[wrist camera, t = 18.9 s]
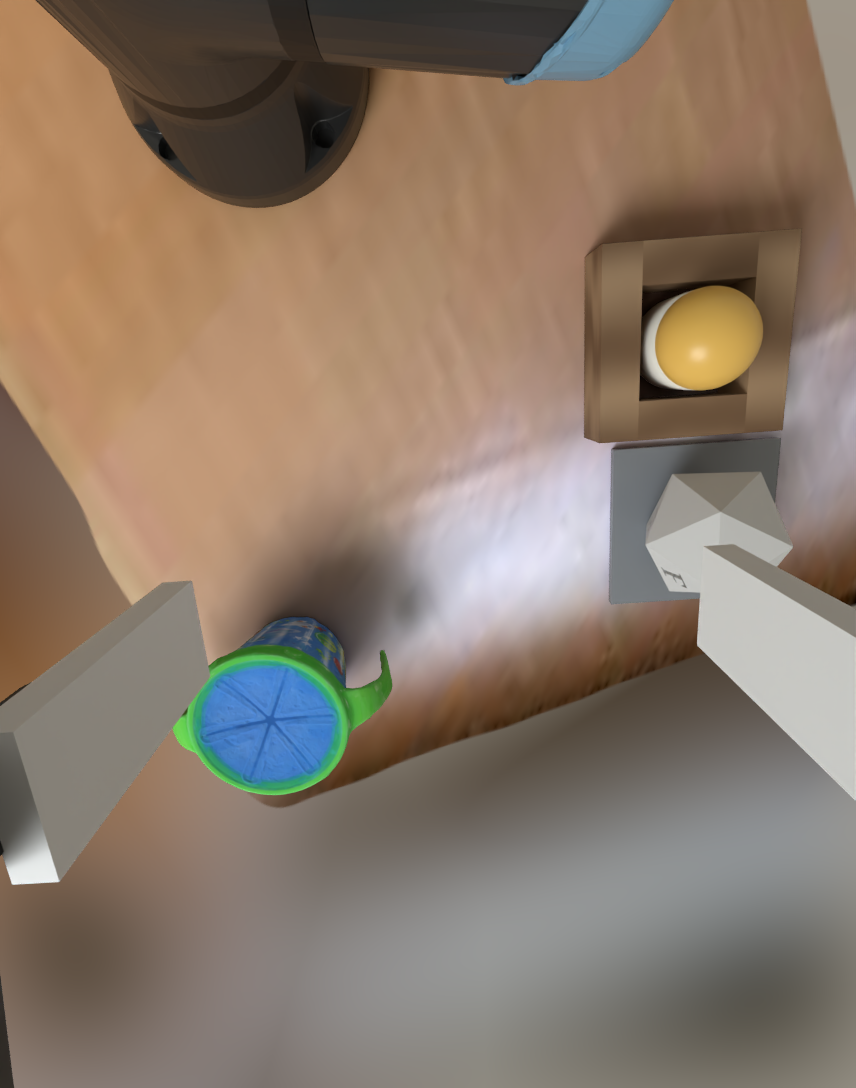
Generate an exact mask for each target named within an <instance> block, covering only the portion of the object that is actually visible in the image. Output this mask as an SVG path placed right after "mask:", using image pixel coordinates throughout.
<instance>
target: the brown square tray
mask: <svg viewBox="0 0 856 1088" xmlns="http://www.w3.org/2000/svg"><path fill="white" fill-rule="evenodd" d="M801 233H802V228H801V229H788V230H775V231H763V232H750V233H737V234H724V235H711V236H698V237H685V238H672V239H660V240H647V241H634V242H621V243H608V244H602V245H600V246H599V247H598V248H596V249H595V250H594V251H593V252H591V253H590V254H589V255H588V256H586V257H585V360H584V438H587V439H590V440H593V441H595V442H598V443H610V442H624V441H638V440H652V439H666V438H680V437H694V436H708V435H722V434H736V433H750V432H764V431H778V430H783V419H784V409H785V399H786V388H787V378H788V367H789V357H790V347H791V336H792V326H793V316H794V305H795V295H796V285H797V274H798V264H799V254H800V243H801ZM707 286H725V287H730V288H734V289H736V290H738V291H740V292H742V293H744V294H745V295H747V296H748V297H749V298H750V299H751V300H752V301H753V302H754V304H755V305H756V307H757V309H758V310H759V312H760V315H761V318H762V322H763V338H762V343H761V347H760V349H759V352H758V354H757V356H756V357H755V359H754V361H753V362H752V364H751V365H750V366H749V367H748V369H747V370H746V371H745V372H744V373H743V374H741V375H740V376H739V377H738V378H736V379H735V380H733V381H732V382H730V383H728V384H726V385H723V386H721V387H718V391H717V393H706V394H692V395H679V396H665V397H651V398H639V383H640V349H641V314H642V293H651V292H664V291H677V290H690V289H698V288H702V287H707Z"/></svg>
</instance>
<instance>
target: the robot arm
mask: <svg viewBox="0 0 856 1088" xmlns="http://www.w3.org/2000/svg"><path fill="white" fill-rule="evenodd" d="M36 1H37V2H38V3H39V4H40V5H41V6H42V7H43V8H44V9H45V10H46V11H47V12H49V13H50V14H51V15H52V16H53V17H54V18H55V19H56V20H57V21H58V22H59V23H60V24H61V25H62V26H63V27H64V28H66V29H67V30H68V31H69V32H70V33H71V34H72V35H73V36H74V37H75V38H76V39H77V40H78V41H79V42H80V43H81V44H82V45H84V46H85V47H86V48H87V49H88V50H89V51H90V52H91V53H92V54H93V55H94V56H95V57H96V58H97V59H98V60H99V61H101V62H102V63H103V64H104V65H105V66H106V67H107V68H108V70H109V73H110V75H111V78H112V80H113V83H114V85H115V88H116V90H117V93H118V96H119V98H120V100H121V103H122V105H123V107H124V109H125V111H126V113H127V115H128V117H129V119H130V121H131V122H132V124H133V126H134V127H135V129H136V130H137V132H138V134H139V135H140V136H141V138H142V139H143V140H144V142H145V143H146V144H147V146H148V147H149V148H150V149H151V151H152V152H153V153H154V154H155V155H156V156H157V157H158V158H159V159H160V160H161V161H162V162H163V163H164V164H165V165H166V166H167V167H168V168H169V169H171V170H172V171H173V172H174V173H175V174H177V175H178V176H179V177H180V178H181V179H183V180H184V181H185V182H187V183H188V184H189V185H191V186H192V187H194V188H195V189H196V190H198V191H200V192H202V193H203V194H205V195H207V196H209V197H211V198H213V199H216V200H219V201H221V202H224V203H228V204H231V205H236V206H241V207H251V208H264V207H273V206H278V205H282V204H286V203H289V202H292V201H294V200H297V199H299V198H301V197H303V196H305V195H307V194H309V193H310V192H312V191H313V190H315V189H316V188H318V187H319V186H320V185H321V184H323V183H324V182H325V181H326V180H327V179H328V178H329V177H330V176H331V175H332V174H333V173H334V172H335V171H336V170H337V168H338V167H339V166H340V165H341V163H342V162H343V161H344V159H345V158H346V156H347V154H348V153H349V151H350V149H351V147H352V146H353V144H354V142H355V139H356V137H357V135H358V132H359V129H360V127H361V124H362V120H363V117H364V113H365V108H366V103H367V96H368V85H369V68H382V69H394V70H407V71H419V72H432V73H444V74H457V75H469V76H482V77H495V78H503V79H504V81H505V83H506V84H510V85H525V84H527V83H529V82H532V81H534V80H569V81H588V80H593V79H597V78H601V77H604V76H606V75H608V74H609V73H610V72H612V71H613V70H614V69H616V68H617V67H618V66H619V65H621V64H622V63H624V62H626V61H627V60H629V59H630V58H631V57H632V56H633V55H634V54H635V53H636V52H637V51H638V50H639V49H640V48H641V47H642V45H643V44H644V43H645V42H646V41H647V40H648V38H649V37H650V36H651V34H652V33H653V31H654V30H655V29H656V27H657V26H658V24H659V23H660V22H661V20H662V19H663V17H664V15H665V14H666V12H667V11H668V9H669V7H670V6H671V4H672V2H673V1H674V0H36ZM697 646H698V647H699V648H701V649H702V650H703V651H704V652H705V653H706V654H707V655H708V656H709V657H710V658H711V659H712V660H713V661H714V662H715V663H716V664H717V665H718V666H719V667H720V668H721V669H722V670H723V671H724V672H725V673H726V674H727V675H728V676H729V677H730V678H731V679H732V680H733V681H734V682H735V683H736V684H737V685H738V686H739V687H740V688H741V689H742V690H743V691H744V692H745V693H746V694H747V695H748V696H749V697H751V698H752V699H753V700H754V701H755V702H756V703H757V704H758V705H759V706H760V707H761V708H762V709H763V710H764V711H765V712H766V713H767V714H768V715H769V716H770V717H771V718H772V719H773V720H774V721H775V722H776V723H777V724H778V725H779V726H780V727H781V728H782V729H783V730H784V731H785V732H786V733H787V734H788V735H789V736H790V737H791V738H792V739H793V740H794V741H795V742H796V743H797V744H798V745H799V746H800V747H801V748H802V749H803V750H804V751H805V752H806V753H808V754H809V755H810V756H811V757H812V758H813V759H814V760H815V761H816V762H817V763H818V764H819V765H820V766H821V767H822V768H823V769H824V770H825V771H826V772H827V773H828V774H829V775H830V776H831V777H832V778H833V779H834V780H835V781H836V782H837V783H838V784H839V785H840V786H841V787H842V788H843V789H844V790H845V791H846V792H847V793H848V794H849V795H850V796H851V797H852V798H853V799H854V800H855V801H856V609H854V608H852V607H851V606H849V605H847V604H845V603H843V602H841V601H839V600H837V599H836V598H834V597H832V596H830V595H828V594H826V593H824V592H822V591H821V590H819V589H817V588H815V587H813V586H811V585H809V584H807V583H806V582H804V581H802V580H800V579H798V578H796V577H794V576H792V575H791V574H789V573H787V572H785V571H783V570H781V569H779V568H777V567H776V566H774V565H772V564H770V563H768V562H766V561H764V560H762V559H761V558H759V557H757V556H755V555H753V554H751V553H749V552H747V551H746V550H744V549H742V548H740V547H738V546H736V545H734V544H728V545H713V546H703V559H702V575H701V591H700V606H699V622H698V638H697ZM209 678H210V672H209V667H208V661H207V656H206V651H205V646H204V641H203V636H202V631H201V625H200V620H199V615H198V610H197V605H196V600H195V595H194V589H193V584H192V581H180V582H166V583H161V584H160V585H159V586H158V587H156V588H155V589H154V590H152V591H151V592H150V593H148V594H147V595H146V596H144V597H143V598H142V599H140V600H139V601H138V602H136V603H135V604H134V605H133V606H131V607H130V608H129V609H127V610H126V611H125V612H123V613H122V614H121V615H119V616H118V617H117V618H116V619H114V620H113V621H112V622H110V623H109V624H108V625H106V626H105V627H104V628H102V629H101V630H100V631H98V632H97V633H96V634H94V635H93V636H92V637H91V638H89V639H88V640H87V641H85V642H84V643H83V644H81V645H80V646H79V647H77V648H76V649H75V650H74V651H72V652H71V653H70V654H68V655H67V656H66V657H64V658H63V659H62V660H60V661H59V662H58V663H56V664H55V665H54V666H52V667H51V668H50V669H48V670H47V671H46V672H45V673H43V674H42V675H41V676H39V677H38V678H37V679H35V680H34V681H33V682H31V683H29V684H27V685H25V686H23V687H21V688H19V689H18V690H17V691H15V692H14V693H13V694H11V695H10V696H9V697H7V698H6V699H5V700H3V701H2V702H1V703H0V856H1V855H3V858H4V861H5V864H6V867H7V870H8V873H9V876H10V879H11V882H12V884H31V883H47V882H60V880H61V879H62V878H63V876H64V875H65V873H66V872H67V871H68V869H69V868H70V867H71V865H72V864H73V863H74V861H75V860H76V859H77V857H78V856H79V854H80V853H81V852H82V850H83V849H84V848H85V846H86V845H87V843H88V842H89V841H90V839H91V838H92V837H93V835H94V834H95V833H96V831H97V830H98V828H99V827H100V826H101V824H102V823H103V822H104V820H105V819H106V818H107V816H108V815H109V813H110V812H111V811H112V810H113V808H114V807H115V805H116V804H117V803H118V801H119V800H120V799H121V797H122V796H123V794H124V793H125V792H126V791H127V789H128V788H129V786H130V785H131V784H132V782H133V781H134V779H135V778H136V777H137V776H138V774H139V773H140V771H141V770H142V769H143V767H144V766H145V765H146V763H147V762H148V761H149V759H150V758H151V756H152V755H153V754H154V752H155V751H156V750H157V748H158V747H159V746H160V744H161V743H162V742H163V740H164V739H165V737H166V736H167V735H168V733H169V732H170V731H171V729H172V728H173V727H174V725H175V724H176V723H177V721H178V720H179V718H180V717H181V716H182V714H183V713H184V712H185V710H186V709H187V708H188V706H189V705H190V703H191V702H192V701H193V699H194V698H195V697H196V695H197V694H198V693H199V691H200V690H201V689H202V687H203V686H204V684H205V683H206V682H207V680H208V679H209ZM0 1088H14V1084H13V1077H12V1068H11V1060H10V1051H9V1044H8V1036H7V1027H6V1020H5V1011H4V1002H3V994H2V986H1V978H0Z"/></svg>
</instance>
